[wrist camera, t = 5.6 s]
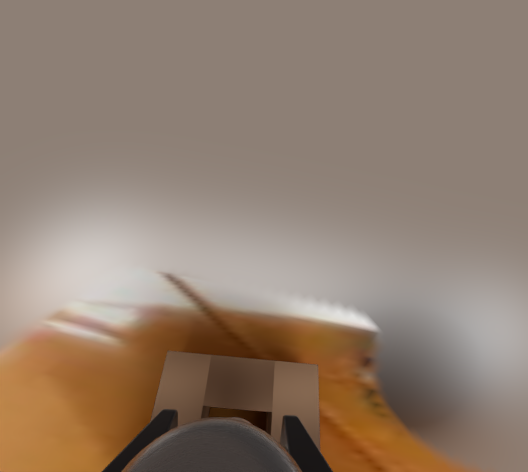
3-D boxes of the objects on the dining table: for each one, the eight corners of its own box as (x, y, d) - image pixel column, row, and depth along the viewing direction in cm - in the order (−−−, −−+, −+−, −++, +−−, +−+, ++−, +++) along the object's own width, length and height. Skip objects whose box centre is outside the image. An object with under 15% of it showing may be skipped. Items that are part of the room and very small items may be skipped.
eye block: (305, 554, 15) (323, 593, 12) (140, 540, 15) (112, 576, 12) (305, 372, 20) (318, 364, 17) (180, 361, 20) (167, 350, 17)
